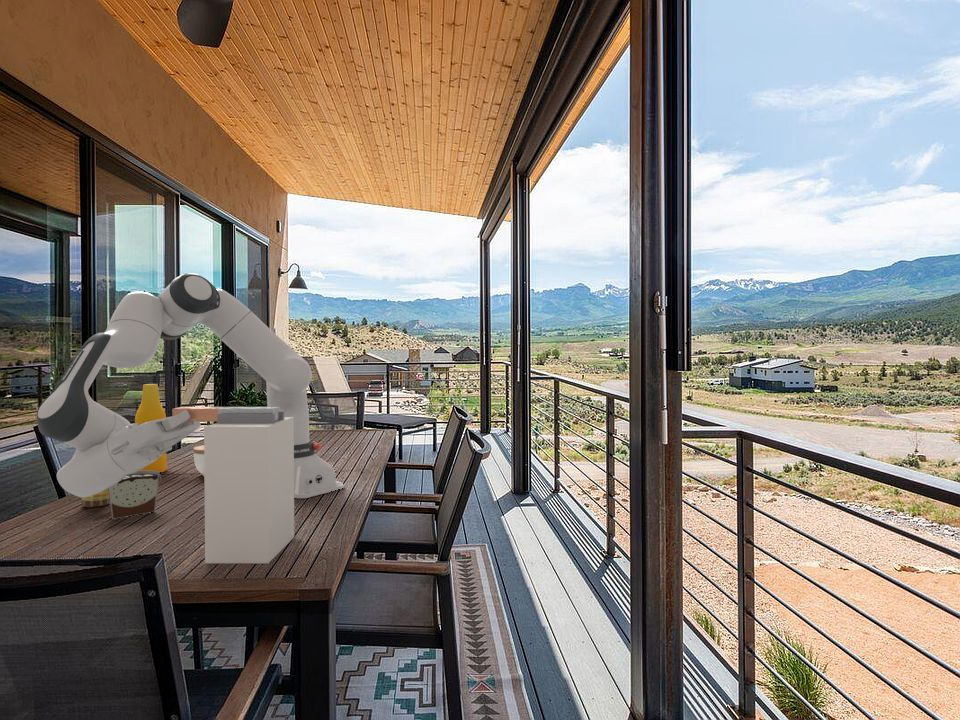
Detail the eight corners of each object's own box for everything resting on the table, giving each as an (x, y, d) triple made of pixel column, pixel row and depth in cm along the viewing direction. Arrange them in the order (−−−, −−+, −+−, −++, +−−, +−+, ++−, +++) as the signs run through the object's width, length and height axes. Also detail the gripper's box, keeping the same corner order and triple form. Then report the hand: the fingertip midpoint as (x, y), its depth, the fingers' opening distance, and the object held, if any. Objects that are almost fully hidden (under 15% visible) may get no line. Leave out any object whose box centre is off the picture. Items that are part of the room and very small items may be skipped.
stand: (205, 563, 115) (203, 417, 114) (238, 537, 131) (237, 408, 130) (268, 563, 115) (267, 417, 114) (294, 537, 131) (293, 408, 130)
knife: (172, 421, 120) (172, 408, 120) (182, 418, 124) (182, 406, 124) (273, 421, 120) (272, 408, 120) (279, 418, 124) (279, 406, 124)
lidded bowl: (192, 480, 187) (192, 444, 187) (194, 472, 199) (194, 439, 198) (236, 477, 192) (236, 442, 192) (235, 469, 204) (235, 437, 203)
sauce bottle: (96, 509, 153) (95, 431, 153) (75, 507, 155) (74, 430, 154) (116, 502, 160) (115, 427, 159) (96, 501, 161) (95, 427, 161)
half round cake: (154, 506, 156) (153, 468, 156) (161, 511, 152) (161, 471, 151) (98, 515, 147) (98, 475, 147) (105, 521, 143) (104, 478, 143)
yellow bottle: (151, 468, 206) (150, 383, 206) (173, 469, 203) (172, 383, 203) (128, 473, 197) (127, 384, 197) (151, 475, 195) (150, 385, 194)
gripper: (96, 440, 112) (161, 403, 112) (155, 426, 132) (210, 394, 132) (114, 469, 112) (178, 432, 112) (170, 451, 132) (224, 419, 132)
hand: (196, 411), depth 122 cm, fingers closed on knife, 4 cm apart
